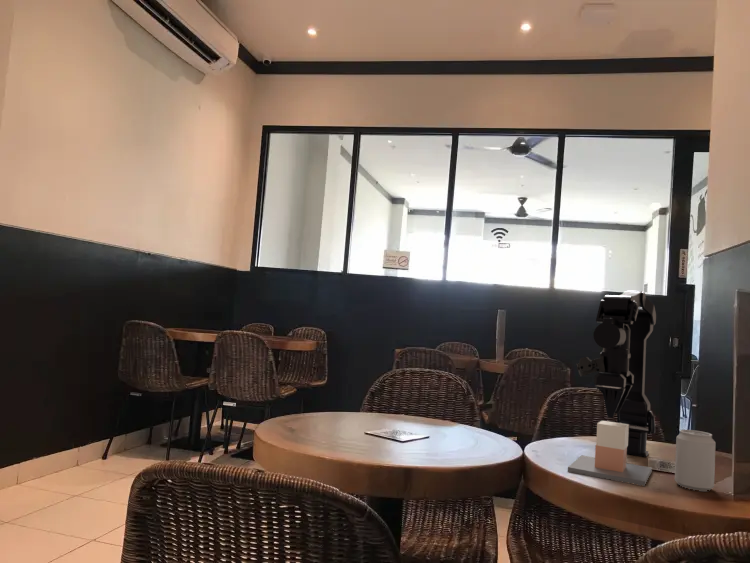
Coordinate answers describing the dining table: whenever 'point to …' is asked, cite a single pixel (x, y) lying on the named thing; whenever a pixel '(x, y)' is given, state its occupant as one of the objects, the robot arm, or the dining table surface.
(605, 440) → the brick cream
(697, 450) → the can
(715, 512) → the dining table surface
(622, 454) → the brick terracotta
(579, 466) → the baseplate
